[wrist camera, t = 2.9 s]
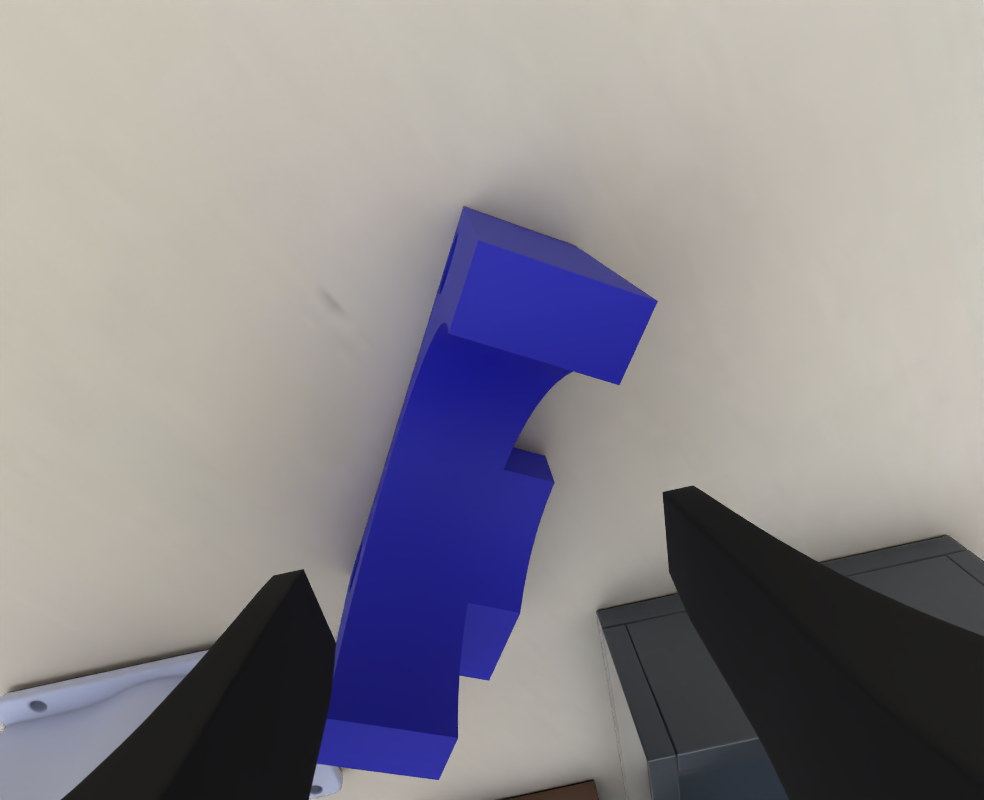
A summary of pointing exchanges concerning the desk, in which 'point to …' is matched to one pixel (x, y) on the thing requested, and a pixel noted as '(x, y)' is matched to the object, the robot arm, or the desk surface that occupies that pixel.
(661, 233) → the desk surface
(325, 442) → the desk surface
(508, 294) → the cable clip
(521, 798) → the block
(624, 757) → the grey open box
